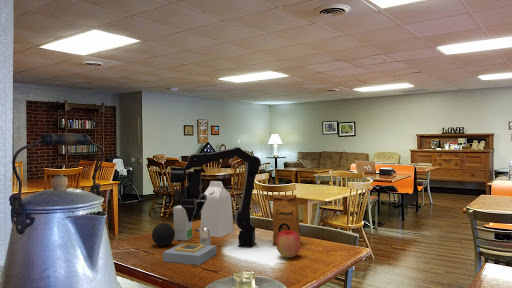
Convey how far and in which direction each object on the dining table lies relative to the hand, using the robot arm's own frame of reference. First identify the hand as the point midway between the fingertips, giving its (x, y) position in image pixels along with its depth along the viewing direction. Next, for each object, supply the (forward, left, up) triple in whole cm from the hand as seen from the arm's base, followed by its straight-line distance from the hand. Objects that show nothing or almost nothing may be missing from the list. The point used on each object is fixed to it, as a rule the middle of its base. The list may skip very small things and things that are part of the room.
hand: (193, 219), depth 162 cm
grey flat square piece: (-4, +10, -13) cm, 17 cm away
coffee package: (-35, -20, -13) cm, 43 cm away
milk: (+4, -29, -13) cm, 32 cm away
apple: (-41, -2, -13) cm, 43 cm away
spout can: (-2, -4, -13) cm, 13 cm away
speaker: (+17, -2, -13) cm, 21 cm away
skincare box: (+15, -15, -13) cm, 24 cm away
